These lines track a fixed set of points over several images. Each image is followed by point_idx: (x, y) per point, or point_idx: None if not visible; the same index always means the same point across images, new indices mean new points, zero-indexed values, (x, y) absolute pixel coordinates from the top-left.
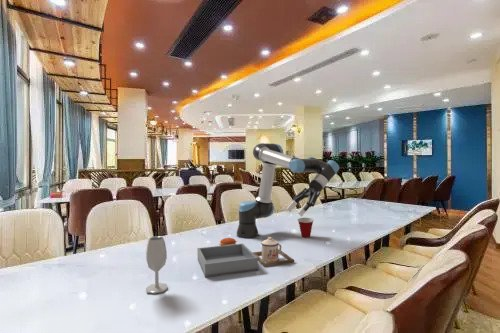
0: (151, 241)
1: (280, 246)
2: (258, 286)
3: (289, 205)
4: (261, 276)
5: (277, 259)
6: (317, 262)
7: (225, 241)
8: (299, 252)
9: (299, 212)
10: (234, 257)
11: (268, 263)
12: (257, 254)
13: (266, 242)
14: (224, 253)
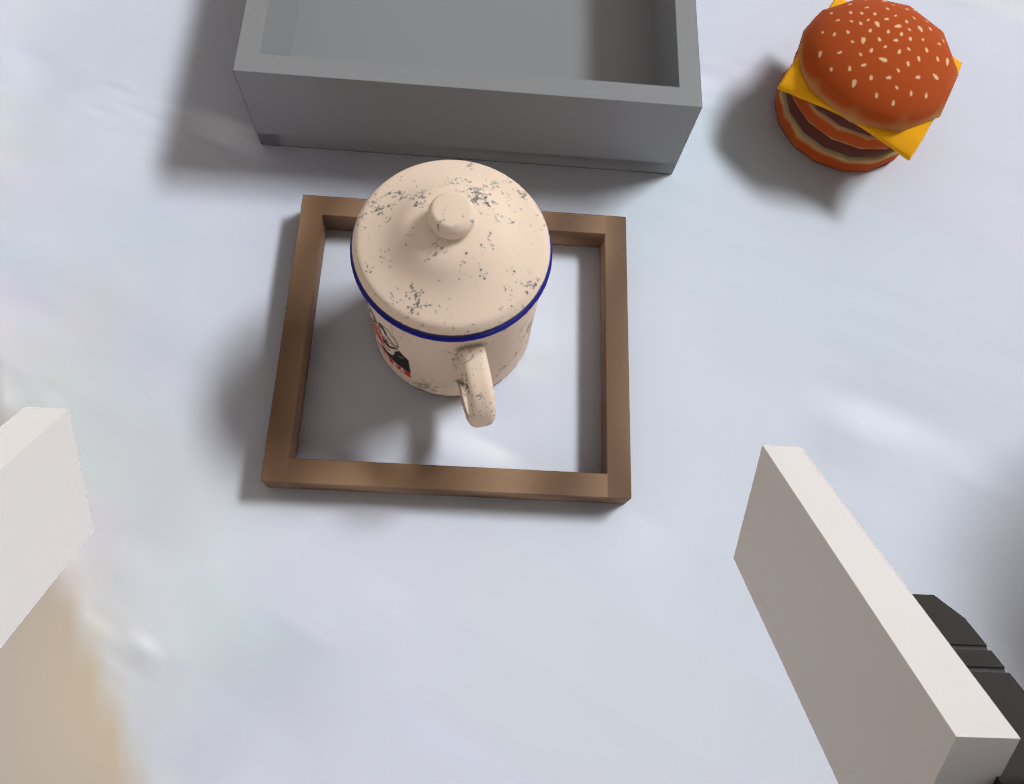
0: None
1: (491, 417)
2: (3, 49)
3: (849, 526)
4: (142, 124)
5: (387, 363)
6: (158, 728)
7: (835, 14)
8: (535, 713)
9: (5, 435)
10: (570, 69)
11: (297, 233)
12: (602, 266)
13: (420, 182)
14: (654, 12)
